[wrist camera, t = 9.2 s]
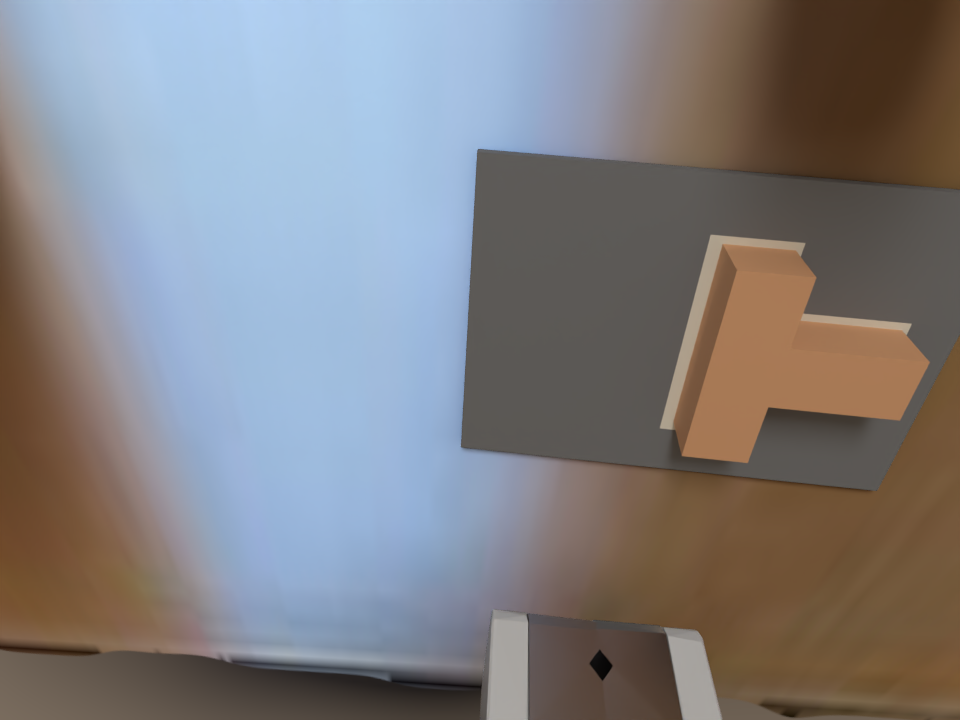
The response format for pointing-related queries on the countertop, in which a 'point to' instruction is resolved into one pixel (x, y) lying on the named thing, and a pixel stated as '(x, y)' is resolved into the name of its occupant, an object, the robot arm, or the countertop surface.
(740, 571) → the countertop surface
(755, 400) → the t block
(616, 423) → the t mat
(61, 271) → the countertop surface
